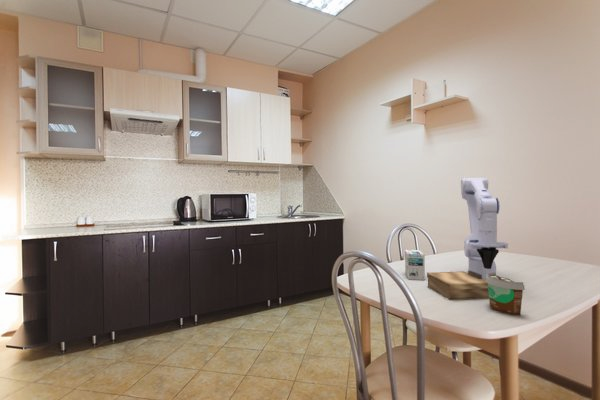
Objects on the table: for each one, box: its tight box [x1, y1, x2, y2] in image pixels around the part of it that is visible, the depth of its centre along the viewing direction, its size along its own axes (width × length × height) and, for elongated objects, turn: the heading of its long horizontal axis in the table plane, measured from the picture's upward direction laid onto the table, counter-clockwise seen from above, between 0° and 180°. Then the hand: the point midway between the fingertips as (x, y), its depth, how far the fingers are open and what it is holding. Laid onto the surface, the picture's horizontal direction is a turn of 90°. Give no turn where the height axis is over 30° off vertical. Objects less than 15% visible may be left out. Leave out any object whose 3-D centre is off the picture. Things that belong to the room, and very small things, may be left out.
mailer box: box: [427, 275, 489, 301], centre depth 112 cm, size 15×14×4 cm
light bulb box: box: [404, 249, 426, 281], centre depth 133 cm, size 11×7×11 cm, turn 168°
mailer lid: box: [426, 270, 488, 290], centre depth 111 cm, size 15×15×3 cm
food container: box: [485, 271, 526, 316], centre depth 95 cm, size 12×6×10 cm, turn 5°
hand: (487, 268), depth 112 cm, fingers closed
